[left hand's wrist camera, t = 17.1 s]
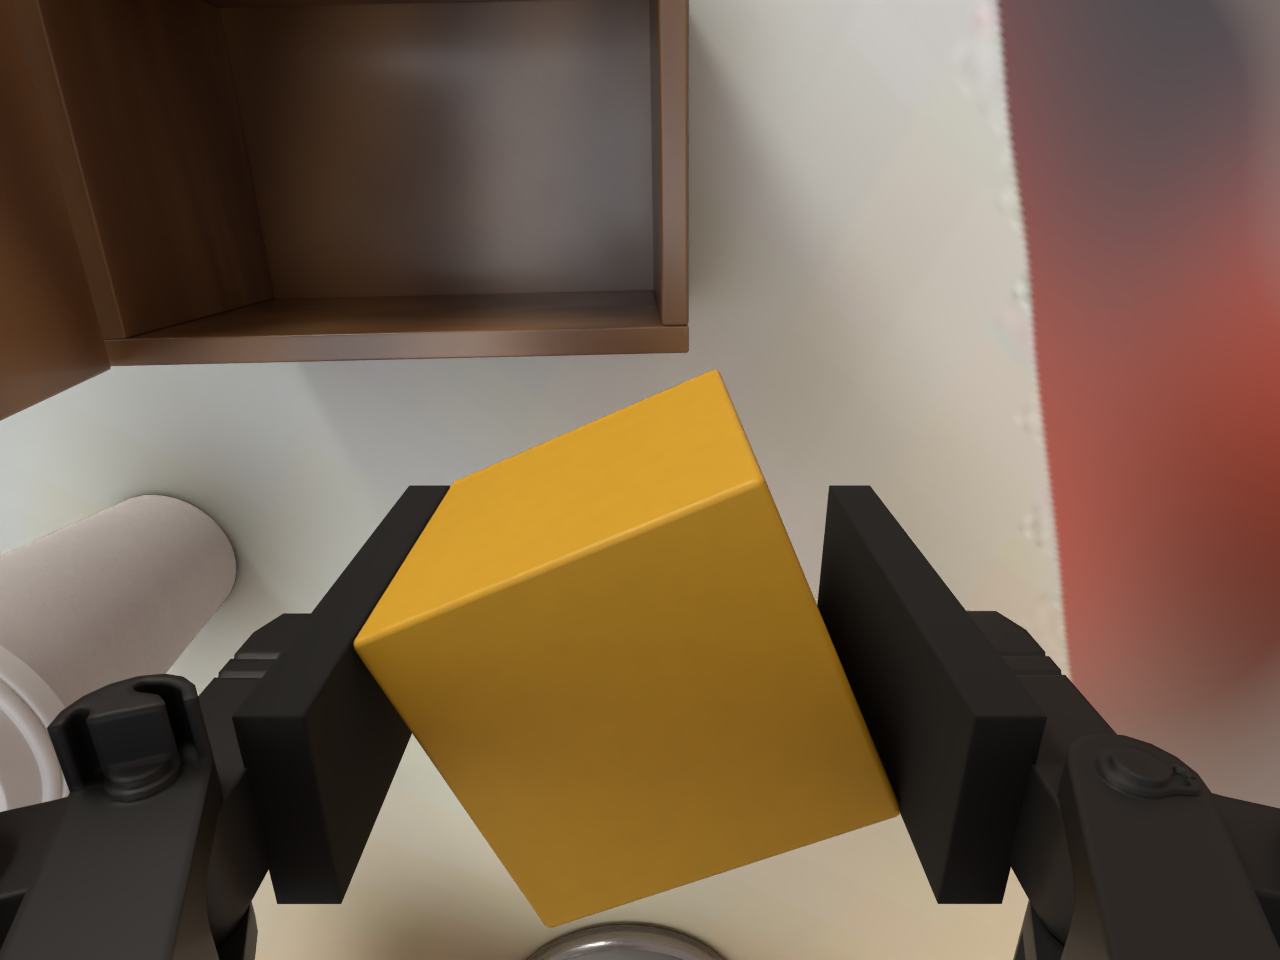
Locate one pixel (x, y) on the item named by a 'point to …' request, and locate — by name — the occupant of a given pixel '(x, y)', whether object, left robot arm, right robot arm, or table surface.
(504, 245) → the chest
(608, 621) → the block
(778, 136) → the table surface
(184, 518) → the coffee cup
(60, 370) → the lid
